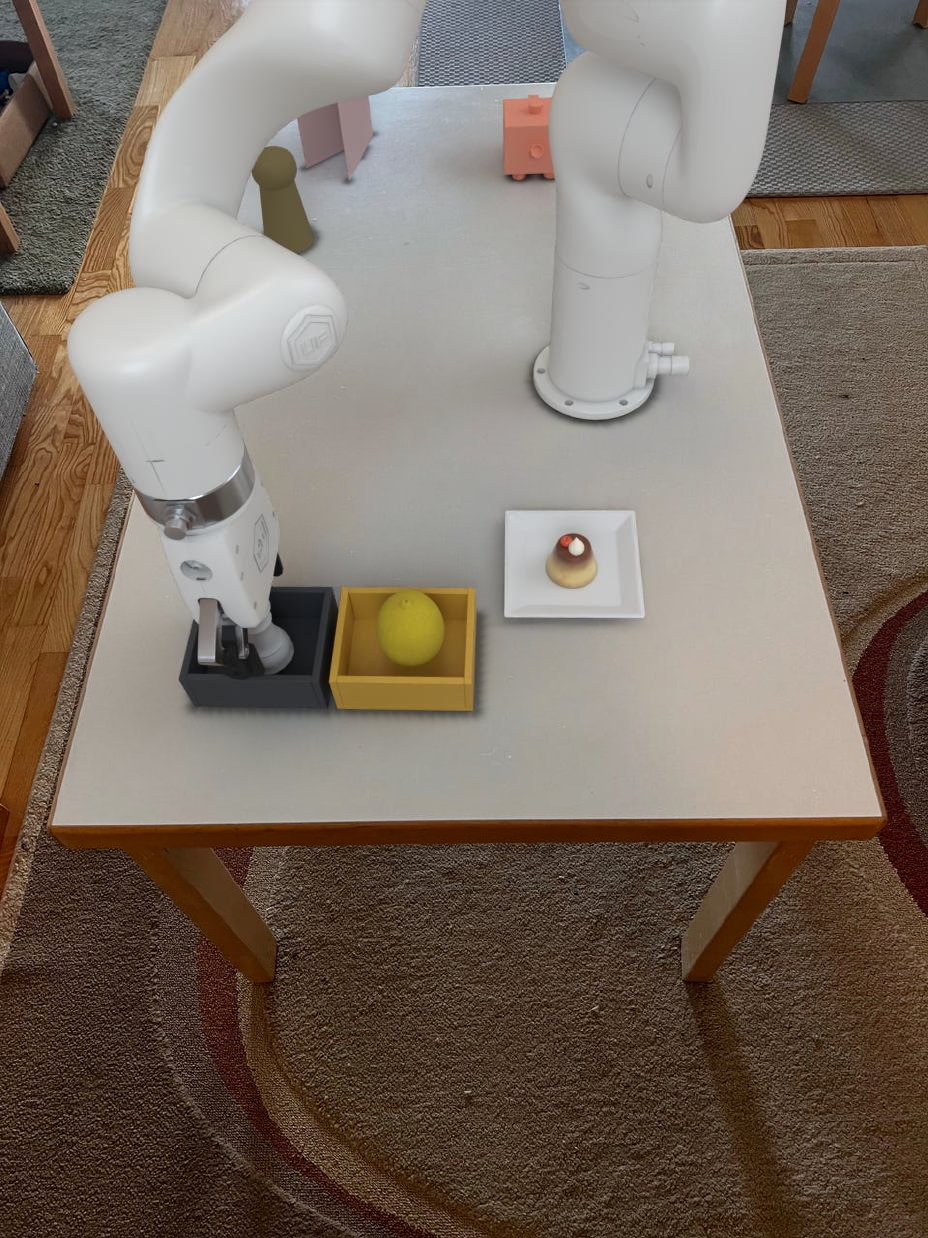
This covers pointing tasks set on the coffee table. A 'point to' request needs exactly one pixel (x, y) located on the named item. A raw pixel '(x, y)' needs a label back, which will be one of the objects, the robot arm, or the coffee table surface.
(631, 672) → the coffee table surface
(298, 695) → the charcoal bin
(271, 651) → the rook chess piece
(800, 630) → the coffee table surface
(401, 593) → the lemon
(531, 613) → the dessert
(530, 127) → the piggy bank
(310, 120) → the greeting card
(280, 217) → the pawn chess piece
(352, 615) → the ochre bin
